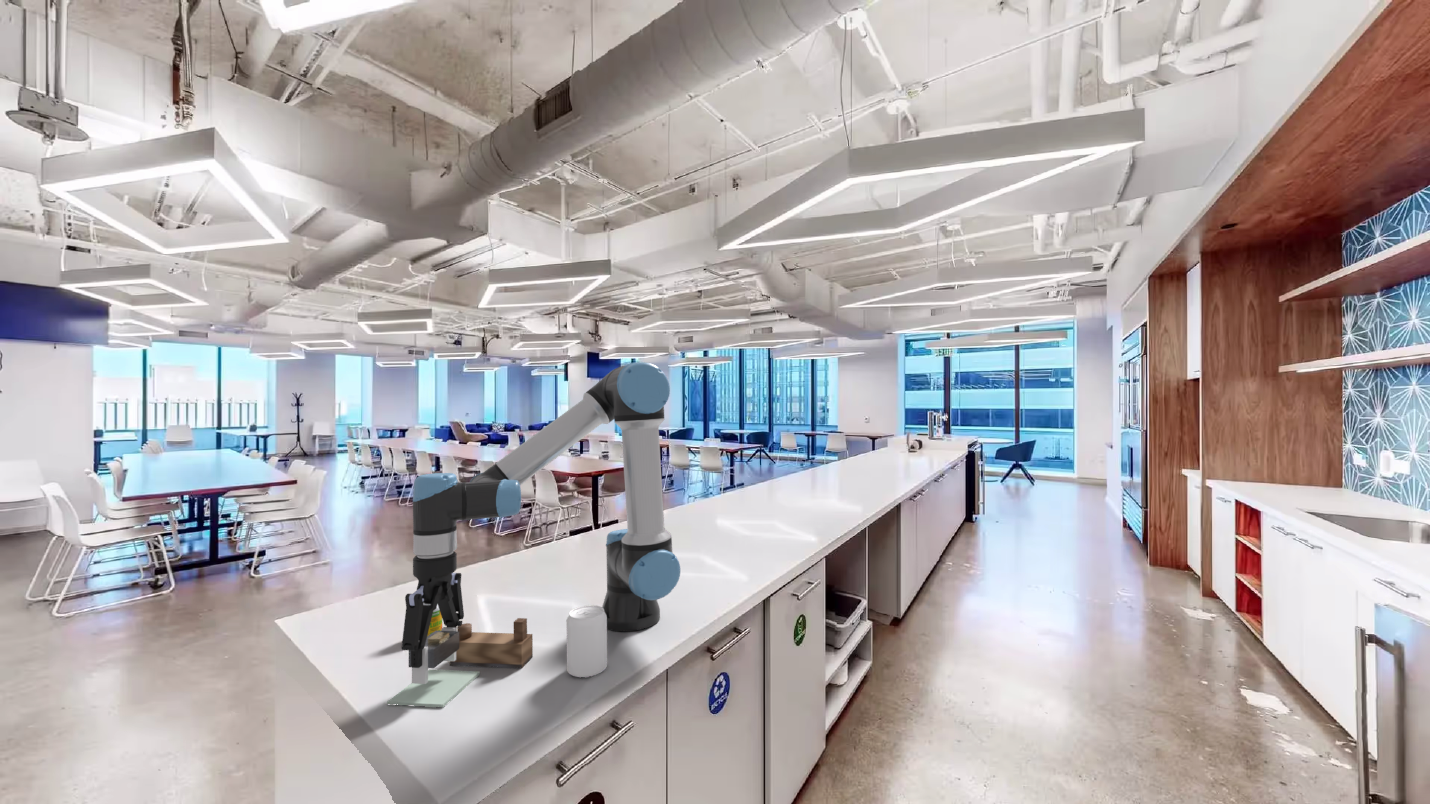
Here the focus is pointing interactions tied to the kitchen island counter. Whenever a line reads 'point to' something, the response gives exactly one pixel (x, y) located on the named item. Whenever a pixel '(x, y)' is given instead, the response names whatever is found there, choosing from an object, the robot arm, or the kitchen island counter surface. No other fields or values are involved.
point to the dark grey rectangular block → (440, 646)
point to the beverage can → (586, 641)
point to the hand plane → (494, 647)
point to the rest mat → (435, 688)
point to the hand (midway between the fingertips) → (435, 670)
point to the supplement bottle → (435, 621)
